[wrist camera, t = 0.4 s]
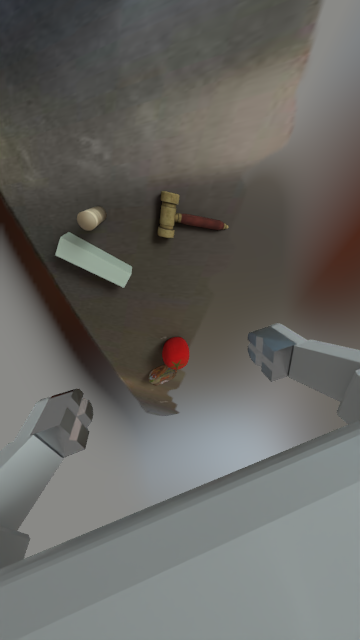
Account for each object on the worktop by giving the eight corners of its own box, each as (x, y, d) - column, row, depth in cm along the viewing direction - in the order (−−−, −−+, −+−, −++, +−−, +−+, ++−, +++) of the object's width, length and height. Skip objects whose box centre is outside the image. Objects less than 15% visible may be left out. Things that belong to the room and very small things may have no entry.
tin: (173, 360, 85) (176, 374, 79) (176, 363, 87) (178, 377, 81) (147, 371, 87) (148, 386, 80) (150, 374, 89) (151, 388, 82)
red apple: (174, 328, 72) (180, 352, 61) (190, 339, 78) (199, 364, 67) (154, 344, 76) (157, 370, 65) (171, 354, 82) (176, 379, 71)
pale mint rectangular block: (68, 232, 44) (60, 236, 40) (132, 266, 53) (131, 274, 48) (63, 248, 47) (55, 255, 42) (125, 279, 55) (123, 287, 50)
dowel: (95, 203, 42) (79, 207, 31) (108, 211, 43) (97, 218, 33) (91, 215, 43) (74, 223, 32) (103, 223, 45) (92, 233, 34)
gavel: (237, 208, 46) (225, 246, 52) (230, 206, 49) (219, 242, 55) (163, 190, 39) (158, 236, 45) (160, 190, 43) (156, 233, 49)
